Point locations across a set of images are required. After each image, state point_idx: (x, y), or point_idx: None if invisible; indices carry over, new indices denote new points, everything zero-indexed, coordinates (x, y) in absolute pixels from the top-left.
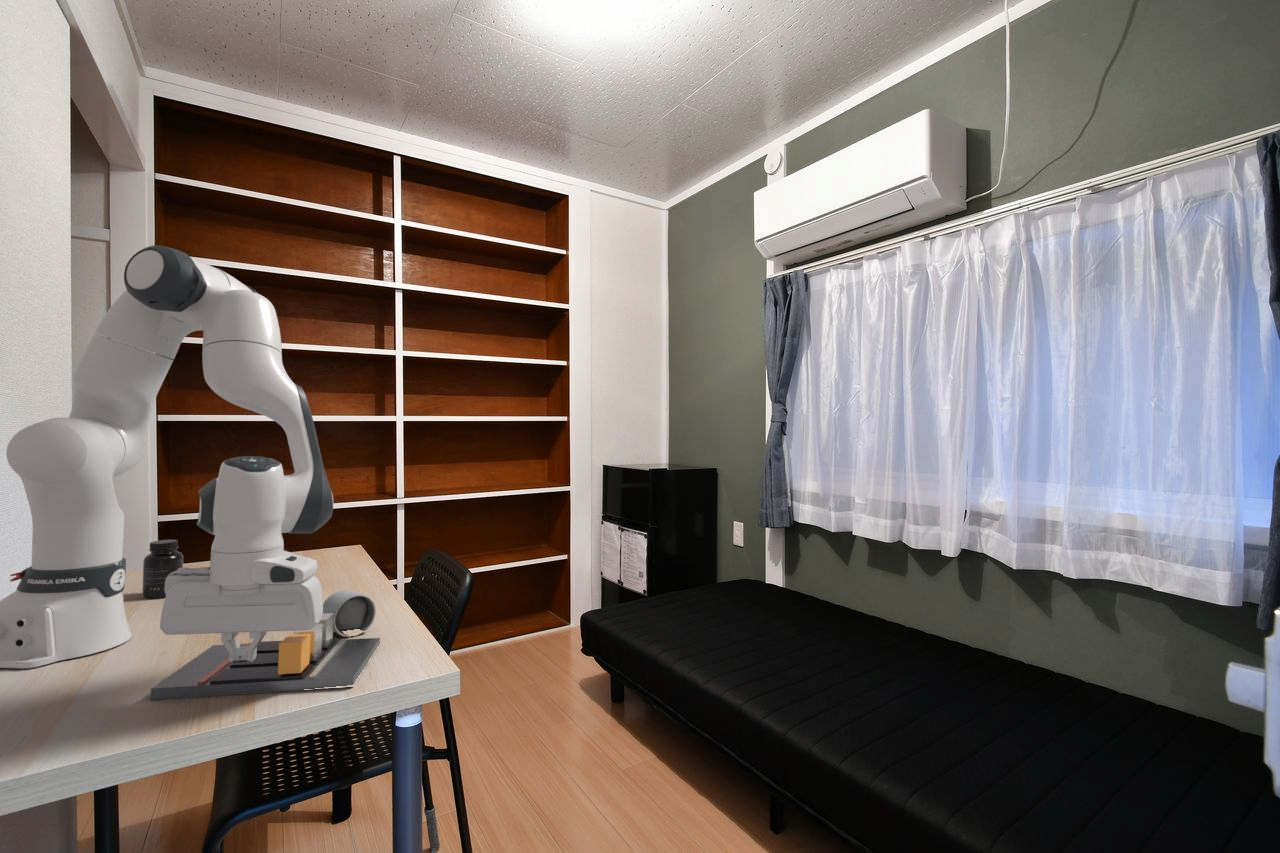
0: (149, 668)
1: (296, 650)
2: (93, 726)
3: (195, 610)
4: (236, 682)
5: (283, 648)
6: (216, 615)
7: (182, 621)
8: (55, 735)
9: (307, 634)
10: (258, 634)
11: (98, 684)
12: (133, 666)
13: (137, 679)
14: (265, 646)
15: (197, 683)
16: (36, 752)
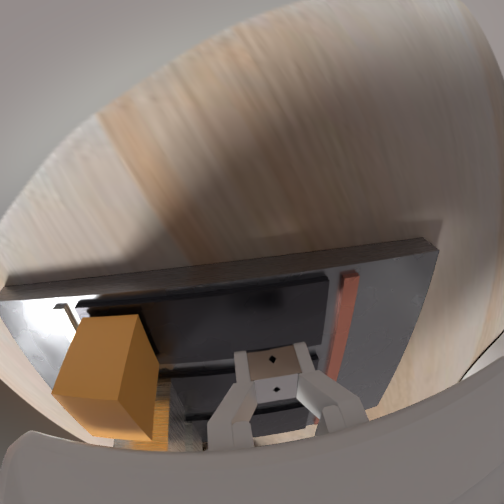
0: (440, 343)
1: (71, 372)
2: (464, 131)
3: (492, 456)
4: (253, 285)
5: (108, 382)
6: (418, 480)
7: (501, 404)
8: (489, 112)
9: (96, 435)
10: (214, 440)
11: (482, 292)
12: (454, 343)
13: (450, 312)
14: (283, 421)
15: (359, 276)
16: (480, 55)
